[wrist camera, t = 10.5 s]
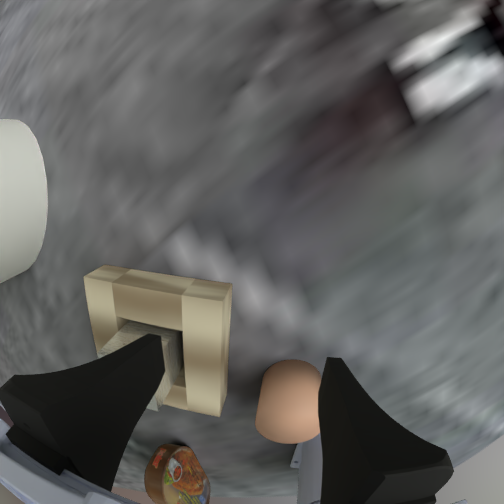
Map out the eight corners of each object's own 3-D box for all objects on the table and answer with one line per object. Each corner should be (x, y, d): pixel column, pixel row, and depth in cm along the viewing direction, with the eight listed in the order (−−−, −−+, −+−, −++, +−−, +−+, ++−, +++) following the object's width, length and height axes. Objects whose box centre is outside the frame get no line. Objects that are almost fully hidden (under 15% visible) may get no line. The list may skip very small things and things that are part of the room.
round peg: (314, 403, 23) (316, 445, 18) (260, 398, 24) (252, 439, 19) (326, 362, 22) (331, 404, 17) (265, 356, 22) (258, 398, 18)
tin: (214, 490, 31) (201, 535, 23) (194, 487, 31) (179, 530, 23) (184, 431, 27) (160, 490, 19) (159, 428, 27) (132, 482, 19)
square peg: (188, 355, 23) (158, 411, 17) (147, 347, 24) (109, 396, 17) (186, 315, 22) (150, 368, 16) (142, 307, 23) (96, 353, 16)
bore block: (226, 394, 24) (219, 416, 21) (120, 368, 25) (105, 385, 22) (232, 283, 21) (222, 301, 18) (104, 264, 22) (83, 276, 19)
